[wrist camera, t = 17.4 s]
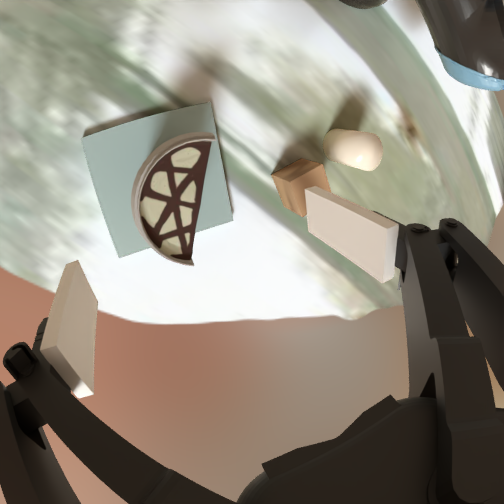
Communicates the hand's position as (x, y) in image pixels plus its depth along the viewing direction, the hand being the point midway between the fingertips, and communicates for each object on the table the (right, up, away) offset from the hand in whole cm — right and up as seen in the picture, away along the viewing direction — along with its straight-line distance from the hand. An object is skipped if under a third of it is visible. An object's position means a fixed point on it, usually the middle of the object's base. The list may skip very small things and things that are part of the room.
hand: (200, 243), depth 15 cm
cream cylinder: (+15, +15, +24) cm, 32 cm away
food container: (-8, +8, +16) cm, 20 cm away
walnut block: (+8, +9, +24) cm, 27 cm away
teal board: (-8, +8, +17) cm, 21 cm away
